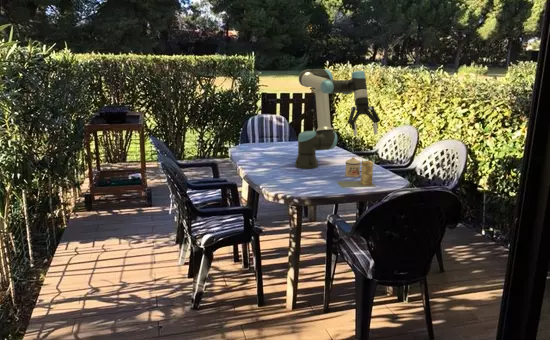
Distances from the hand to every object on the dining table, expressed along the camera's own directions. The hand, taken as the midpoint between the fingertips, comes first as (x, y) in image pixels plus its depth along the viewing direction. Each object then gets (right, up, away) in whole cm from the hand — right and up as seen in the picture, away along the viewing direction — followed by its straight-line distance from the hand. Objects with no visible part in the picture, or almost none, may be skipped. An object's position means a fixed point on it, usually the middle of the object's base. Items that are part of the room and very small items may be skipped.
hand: (365, 134), depth 250 cm
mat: (-5, -28, +1) cm, 29 cm away
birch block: (+1, -28, +1) cm, 28 cm away
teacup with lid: (-3, -24, +21) cm, 32 cm away
